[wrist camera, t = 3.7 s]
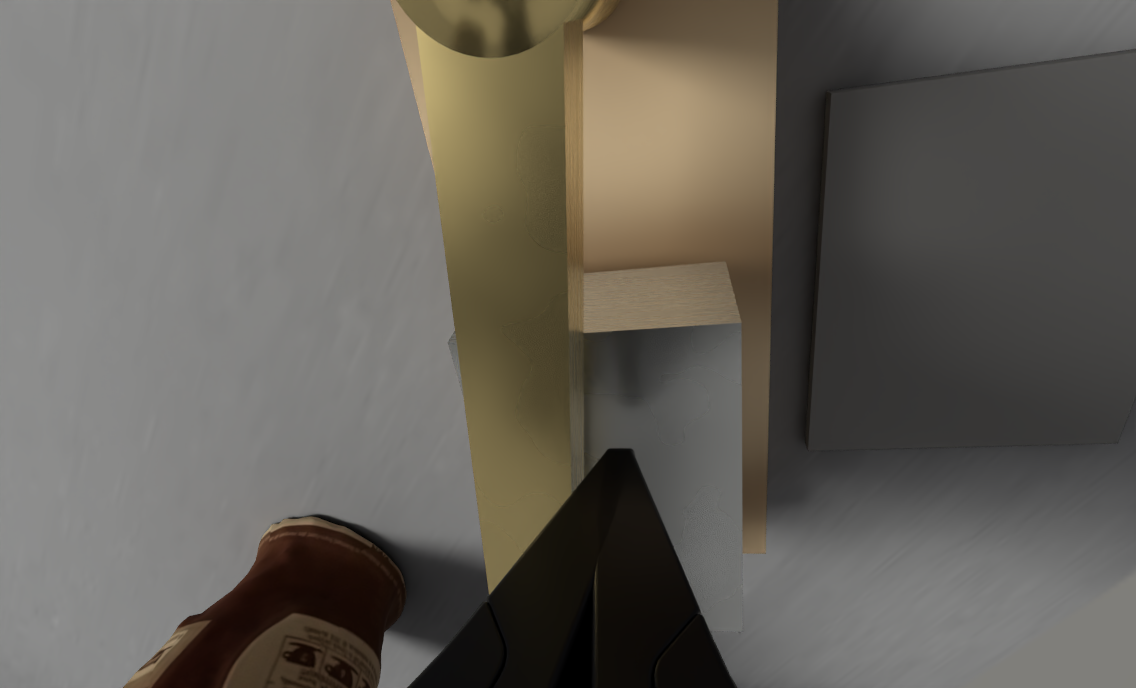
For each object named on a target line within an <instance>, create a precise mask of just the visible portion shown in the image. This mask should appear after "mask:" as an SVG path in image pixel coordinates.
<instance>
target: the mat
mask: <svg viewBox="0 0 1136 688" xmlns="http://www.w3.org/2000/svg"><path fill="white" fill-rule="evenodd" d="M1135 398H1136V49H1133V50H1126V51H1118V52H1111V53H1104V54H1096V55H1089V56H1081V57H1074V58H1067V59H1059V60H1052V61H1044V62H1037V63H1030V64H1022V65H1015V66H1007V67H1000V68H993V69H985V70H978V71H971V72H963V73H956V74H948V75H941V76H934V77H926V78H919V79H911V80H904V81H897V82H889V83H882V84H875V85H867V86H860V87H852V88H845V89H838V90H830V91H827V97H826V113H825V130H824V146H823V162H822V178H821V194H820V210H819V227H818V243H817V259H816V275H815V291H814V307H813V323H812V340H811V356H810V372H809V388H808V404H807V420H806V437H805V444H806V447H807V450H808V451H833V450H873V449H913V448H952V447H992V446H1032V445H1072V444H1112V443H1118V441H1119V439H1120V436H1121V434H1122V431H1123V429H1124V426H1125V424H1126V421H1127V418H1128V416H1129V413H1130V411H1131V408H1132V406H1133V403H1134V401H1135Z"/></svg>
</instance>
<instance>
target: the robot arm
mask: <svg viewBox="0 0 1136 688" xmlns="http://www.w3.org/2000/svg"><path fill="white" fill-rule="evenodd" d="M407 688H737V687H736V685H735V683H734V681H733V680H732V678H731V676H730V674H729V672H728V670H727V667H726V665H725V663H724V661H723V659H722V657H721V655H720V652H719V650H718V648H717V646H716V644H715V642H714V640H713V637H712V635H711V633H710V630H709V628H708V626H707V623H706V621H705V619H704V616H703V615H701V610H700V608H699V605H698V603H697V601H696V598H695V596H694V594H693V591H692V589H691V586H690V584H689V582H688V579H687V577H686V575H685V572H684V570H683V568H682V565H681V563H680V561H679V558H678V556H677V554H676V551H675V549H674V546H673V544H672V542H671V539H670V537H669V535H668V532H667V530H666V528H665V525H664V523H663V521H662V518H661V516H660V514H659V511H658V509H657V507H656V504H655V502H654V499H653V497H652V495H651V492H650V490H649V488H648V485H647V483H646V481H645V478H644V476H643V474H642V471H641V469H640V467H639V464H638V462H637V459H636V455H635V452H634V450H633V449H632V448H609V449H607V450H606V452H605V453H604V454H603V456H602V457H601V458H600V459H599V460H598V462H597V463H596V464H595V465H594V467H593V468H592V469H591V470H590V472H589V473H588V474H587V475H586V476H585V478H584V479H583V480H582V481H581V483H580V484H579V485H578V486H577V488H576V489H575V490H574V491H573V493H572V494H571V495H570V496H569V497H568V499H567V500H566V501H565V502H564V504H563V505H562V506H561V507H560V509H559V510H558V511H557V512H556V513H555V515H554V516H553V517H552V518H551V520H550V521H549V522H548V523H547V525H546V526H545V527H544V528H543V529H542V531H541V532H540V533H539V534H538V536H537V537H536V538H535V539H534V541H533V542H532V543H531V544H530V545H529V547H528V548H527V549H526V550H525V552H524V553H523V554H522V555H521V557H520V558H519V559H518V560H517V562H516V563H515V564H514V565H513V566H512V568H511V569H510V570H509V571H508V573H507V574H506V575H505V576H504V578H503V579H502V580H501V581H500V582H499V584H498V585H497V586H496V587H495V589H494V590H493V591H492V592H491V594H490V595H489V596H488V597H487V602H483V603H482V604H481V605H480V607H479V608H478V609H477V610H476V612H475V613H474V614H473V615H472V617H471V618H470V619H469V620H468V622H467V623H466V624H465V625H464V626H463V627H462V628H461V630H460V631H459V632H458V633H457V634H456V635H455V637H454V638H453V639H452V640H451V641H450V642H449V644H448V645H447V646H446V647H445V648H444V649H443V651H442V652H441V653H440V654H439V655H438V656H437V657H436V658H435V659H434V660H433V661H432V662H431V663H430V664H429V665H428V667H427V668H426V669H425V670H424V671H423V672H422V673H421V674H420V675H419V676H418V677H417V678H416V679H415V680H414V681H413V682H412V683H411V684H410V685H409V686H408V687H407Z"/></svg>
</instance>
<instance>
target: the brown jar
mask: <svg viewBox="0 0 1136 688" xmlns="http://www.w3.org/2000/svg"><path fill="white" fill-rule="evenodd" d="M406 596H407V592H406V587H405V583H404V579H403V576H402V574H401V572H400V570H399V569H398V567H397V566H396V565H395V564H394V563H393V562H392V560H391V559H390V558H389V557H388V556H387V555H386V554H385V553H384V552H383V551H381V550H380V549H379V548H378V547H376V546H375V545H374V544H373V543H371V542H370V541H368V540H366V539H365V538H363V537H361V536H359V535H358V534H356V533H355V532H353V531H352V530H350V529H348V528H346V527H344V526H339V525H336V524H333V523H330V522H328V521H325V520H322V519H320V518H317V517H312V516H310V517H303V518H299V519H289V518H288V519H283V521H282V522H280V523H279V524H278V523H276V524H272V525H271V526H270V528H269V529H268V530H267V531H266V533H265V534H264V535H263V537H262V539H261V541H260V544H259V548H258V553H257V557H256V561H255V563H254V565H253V566H252V568H251V569H250V571H249V573H248V574H247V575H246V576H245V578H244V579H243V580H242V581H241V582H240V583H239V584H238V585H237V586H236V587H235V588H234V589H233V590H232V591H231V592H230V593H228V594H227V595H225V596H224V597H223V598H221V599H220V600H219V601H217V602H216V603H215V604H213V605H212V606H211V607H209V608H208V609H207V610H205V611H204V612H203V613H201V614H197V615H193V616H189V617H188V618H186V619H185V620H184V621H183V622H182V623H181V624H180V625H179V626H178V627H177V629H176V631H175V632H174V634H173V635H172V637H171V638H170V639H169V640H168V641H167V642H166V644H165V645H164V646H163V647H162V648H161V649H160V650H159V651H158V652H157V653H156V654H155V655H154V656H153V657H152V658H151V659H150V660H149V661H148V662H147V663H146V664H145V665H144V666H142V667H141V668H140V669H139V670H138V671H137V672H136V673H135V674H134V675H133V677H132V678H131V679H130V680H129V681H128V683H127V684H126V685H125V686H124V687H123V688H377V687H378V684H379V679H380V672H381V650H382V644H383V638H384V632H385V631H386V630H387V629H388V628H390V627H391V626H392V625H393V624H394V623H395V622H396V621H397V620H398V618H399V617H400V616H401V614H402V611H403V609H404V605H405V602H406Z"/></svg>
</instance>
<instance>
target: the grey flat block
mask: <svg viewBox="0 0 1136 688" xmlns="http://www.w3.org/2000/svg"><path fill="white" fill-rule="evenodd" d="M448 344H449V348H450V351H451V355H452V359H453V362H454V366H455V369H456V373H457V376H458V380H459V383H460V387H461V390H462V394H463V388H462V380H461V372H460V365H459V357H458V349H457V341H456V334H455V331H454V333H453V335H452V336H451V338H450V339H449V341H448ZM463 397H464V396H463ZM609 448H632V449H633V450H634V452H635V455H636V459H637V462H638V464H639V467H640V469H641V471H642V474H643V476H644V478H645V481H646V483H647V485H648V488H649V490H650V492H651V495H652V497H653V499H654V502H655V504H656V507H657V509H658V511H659V514H660V516H661V518H662V521H663V523H664V525H665V528H666V530H667V532H668V535H669V537H670V539H671V542H672V544H673V546H674V549H675V551H676V554H677V556H678V558H679V561H680V563H681V565H682V568H683V570H684V572H685V575H686V577H687V579H688V582H689V584H690V586H691V589H692V591H693V594H694V596H695V598H696V601H697V603H698V605H699V608H700V610H701V615H703V616H704V619H705V621H706V623H707V626H708V628H709V630H710V631H722V632H743V543H742V331H741V319H740V315H739V311H738V307H737V303H736V300H735V296H734V292H733V288H732V284H731V280H730V276H729V272H728V268H727V265H726V261H723V262H711V263H699V264H688V265H676V266H664V267H653V268H641V269H630V270H618V271H606V272H595V273H584V478H585V476H586V475H587V474H588V473H589V472H590V470H591V469H592V468H593V467H594V465H595V464H596V463H597V462H598V460H599V459H600V458H601V457H602V456H603V454H604V453H605V452H606V450H607V449H609Z"/></svg>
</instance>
